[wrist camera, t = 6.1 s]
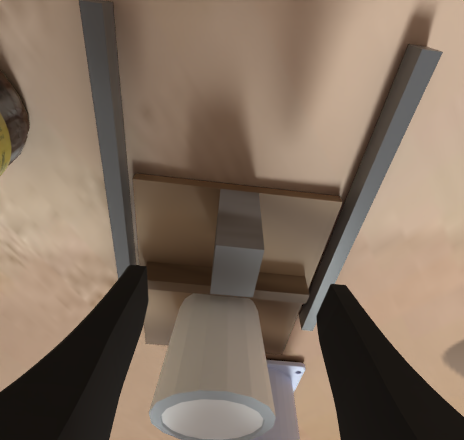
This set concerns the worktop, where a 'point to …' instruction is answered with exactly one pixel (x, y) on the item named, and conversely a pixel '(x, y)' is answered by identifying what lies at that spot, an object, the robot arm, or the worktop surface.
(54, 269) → the worktop surface
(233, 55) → the worktop surface
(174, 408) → the white cup
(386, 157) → the lane rails
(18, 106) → the sauce bottle
